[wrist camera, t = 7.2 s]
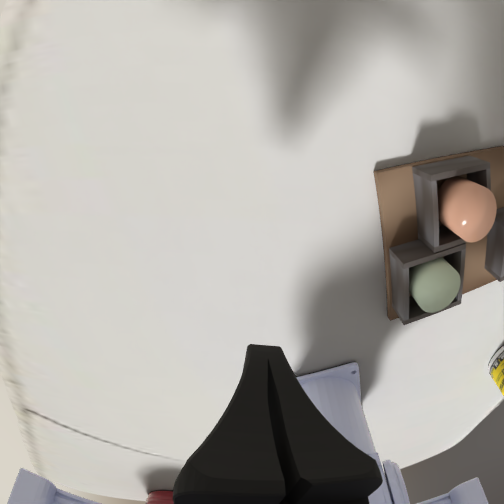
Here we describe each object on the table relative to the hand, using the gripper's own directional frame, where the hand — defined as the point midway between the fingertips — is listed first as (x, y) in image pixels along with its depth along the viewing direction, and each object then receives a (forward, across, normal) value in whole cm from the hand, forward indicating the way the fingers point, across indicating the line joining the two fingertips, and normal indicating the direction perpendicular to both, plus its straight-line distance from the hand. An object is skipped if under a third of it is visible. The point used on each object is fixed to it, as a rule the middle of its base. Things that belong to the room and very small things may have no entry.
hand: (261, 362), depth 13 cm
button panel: (+9, -16, -5) cm, 19 cm away
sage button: (+8, -12, -1) cm, 15 cm away
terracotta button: (+7, -12, -7) cm, 16 cm away
